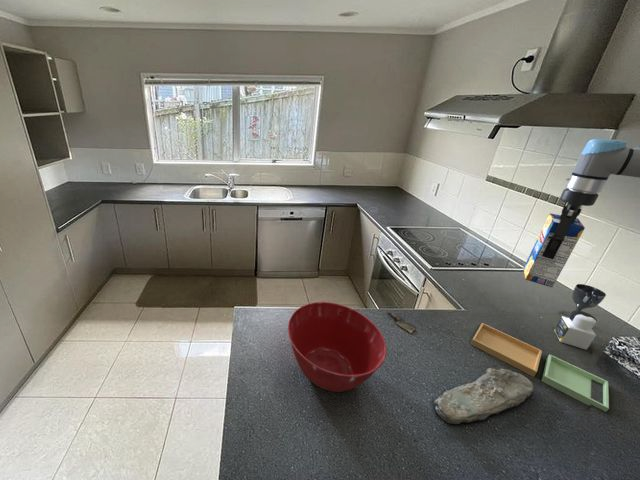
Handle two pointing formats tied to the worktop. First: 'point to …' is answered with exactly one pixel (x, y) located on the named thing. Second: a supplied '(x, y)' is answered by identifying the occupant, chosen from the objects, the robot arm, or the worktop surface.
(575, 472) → the worktop surface
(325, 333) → the mixing bowl
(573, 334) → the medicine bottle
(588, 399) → the green tray
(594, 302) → the wine glass
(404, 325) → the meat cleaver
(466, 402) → the long grey stone
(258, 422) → the worktop surface
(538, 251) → the beverage box
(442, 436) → the worktop surface
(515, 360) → the oak tray
